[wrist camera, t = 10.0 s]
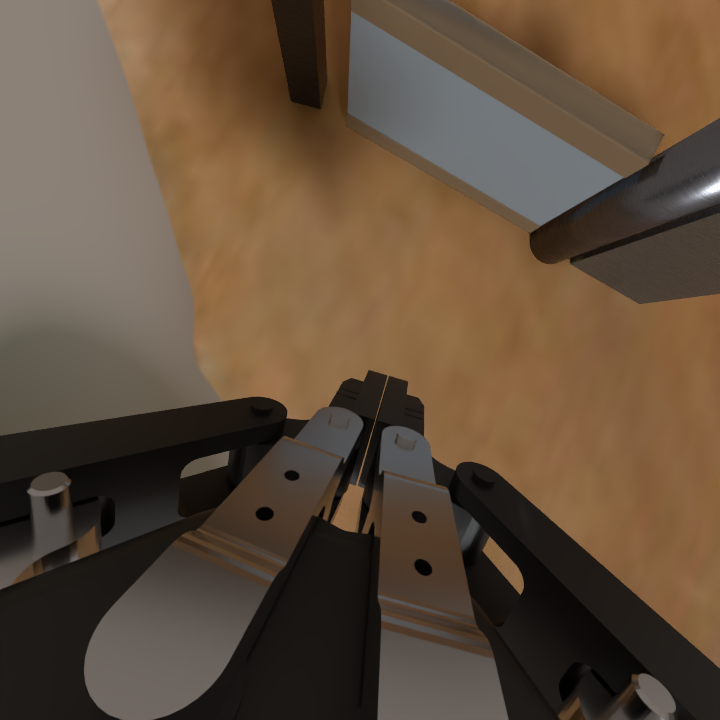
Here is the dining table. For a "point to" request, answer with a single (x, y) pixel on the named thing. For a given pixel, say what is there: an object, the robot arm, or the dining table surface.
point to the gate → (485, 111)
